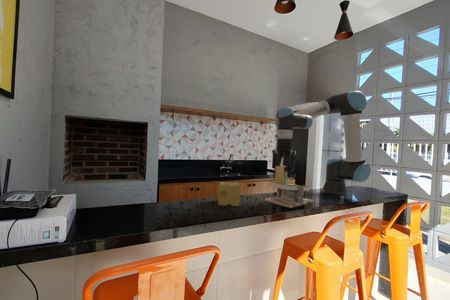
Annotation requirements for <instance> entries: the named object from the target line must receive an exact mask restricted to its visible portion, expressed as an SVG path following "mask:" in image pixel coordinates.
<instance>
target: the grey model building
mask: <svg viewBox="0 0 450 300" xmlns="http://www.w3.org/2000/svg"><path fill="white" fill-rule="evenodd" d="M268 185H269V187H271V188H276V189H277V188H281V189H285V190H294V191H298V189H299V187H304V192H303V197H304V196H305V192H310V190H311V186H310V185H298V184H294V183H293V182H290V184H286V185H281V184H276V183H275V181H273V180H272V181H270V180H269V184H268Z"/></svg>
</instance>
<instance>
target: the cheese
mask: <svg viewBox="0 0 450 300" xmlns="http://www.w3.org/2000/svg"><path fill="white" fill-rule="evenodd" d="M217 192H218V195H217V197H218V199H217V204H218V205H217V206H231V207H240V203H241V201H240V200H241V199H240V196H241V195H240V193H241V191H240V182H235V181H234V182H227V181H226V182H225V181H224V182H223V181H220V182H219V184H218V191H217Z"/></svg>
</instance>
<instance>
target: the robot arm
mask: <svg viewBox="0 0 450 300" xmlns="http://www.w3.org/2000/svg"><path fill="white" fill-rule="evenodd" d="M367 102H368V101H367V98H366V95H365V94H364V93H363V92H362V91H360V90H353V91H347V92H343V93H338V94H334V95H331V96H329V97H327V98H325V99H323V100H320V101H319V102H318V103H316V104H313V105H311V106H308V107H305V108H303V109H300V110H297V111H295V110H294V108H291V107H282V108H280V109H279V110H278V115H277V116H278V117H277V118H276V120H275V126H276V128H277V140H276V145H277V147H276V148H275V149H272V150H271V153H272V159H271V160H272V163H271V164H272V165H271V168H272V169H273V170H274V173H275V172H276V166H281V164H282V161H283V158H284V161H285V166H286V167H287V171H286V174H285V184H289V179H290V180H291V178H292V172H294V171H296V156H297V154H298V152H297V150H293V148H292V147H293V139H292V138H293V134H294V132H293V131H294V130H295V129H301V130H302V129H303V130H305V129H306V130H309V129H310V128H311V127H312V125H313V119H316V118H318V117H321V116H328V115H332V114H339V115H340V117H341V118H342V119H343V131H344V132H343V133H344V143H345V144H344V145H345V158H329V159H328V160H327V161H326V167H325V168H326V170H325V172H326V173H325V182H324V185H323V186H322V190H321V191H322V193H324V194H327V195H331V196H339V197H341V196H342V197H344V196H348V188H347V185H346V181H351V182H357V183H364V182H366V181H367V180H368V179H369V178H370V175H371V171H372V167H371V165H370V163H367V162H366V158H365V157H364V156H363V150H362V149H363V148H362V133H361V121H360V119H361V116H362V114H363V111H364V110H365V109H366V108H367V104H368V103H367Z"/></svg>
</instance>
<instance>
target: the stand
mask: <svg viewBox="0 0 450 300" xmlns="http://www.w3.org/2000/svg"><path fill="white" fill-rule="evenodd" d="M303 192H304V187H299V189H298V191H294V190H285V189H281V188H276V196H274V197H268V198H265V199H264V202H266V203H272V204H275V205H278V206H282V207H285V208H290V209H291V208H292V209H293V208H297V207H300V206H304V205H307V204H311V203H314V200H313V199H310V198H304V196H303ZM304 193H305V192H304Z"/></svg>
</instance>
